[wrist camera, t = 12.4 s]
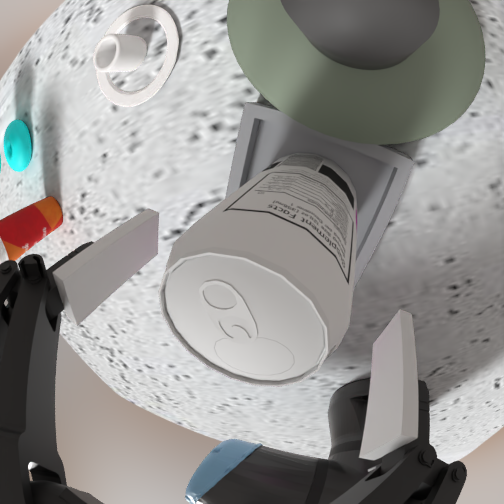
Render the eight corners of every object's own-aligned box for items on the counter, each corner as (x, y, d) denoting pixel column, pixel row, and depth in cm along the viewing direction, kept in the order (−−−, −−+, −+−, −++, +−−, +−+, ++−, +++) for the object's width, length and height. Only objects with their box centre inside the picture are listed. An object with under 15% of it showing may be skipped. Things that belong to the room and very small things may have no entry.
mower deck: (476, -1, 8) (519, -34, 1) (373, 289, 25) (370, 361, 18) (271, -62, 11) (230, -111, 4) (206, 224, 28) (153, 271, 21)
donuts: (-28, 135, 24) (-17, 132, 22) (13, 120, 32) (31, 115, 30) (-21, 186, 30) (-8, 191, 27) (17, 167, 38) (36, 169, 35)
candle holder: (205, 44, 19) (177, 37, 16) (133, 127, 26) (104, 135, 22) (144, -11, 17) (116, -18, 13) (88, 66, 23) (61, 69, 20)
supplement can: (367, 234, 22) (360, 393, 10) (279, 251, 26) (202, 386, 14) (340, 139, 19) (310, 206, 7) (245, 168, 23) (116, 259, 11)
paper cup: (50, 228, 41) (-5, 266, 30) (40, 190, 37) (-21, 225, 26) (71, 233, 39) (9, 277, 28) (60, 190, 35) (-10, 230, 24)
